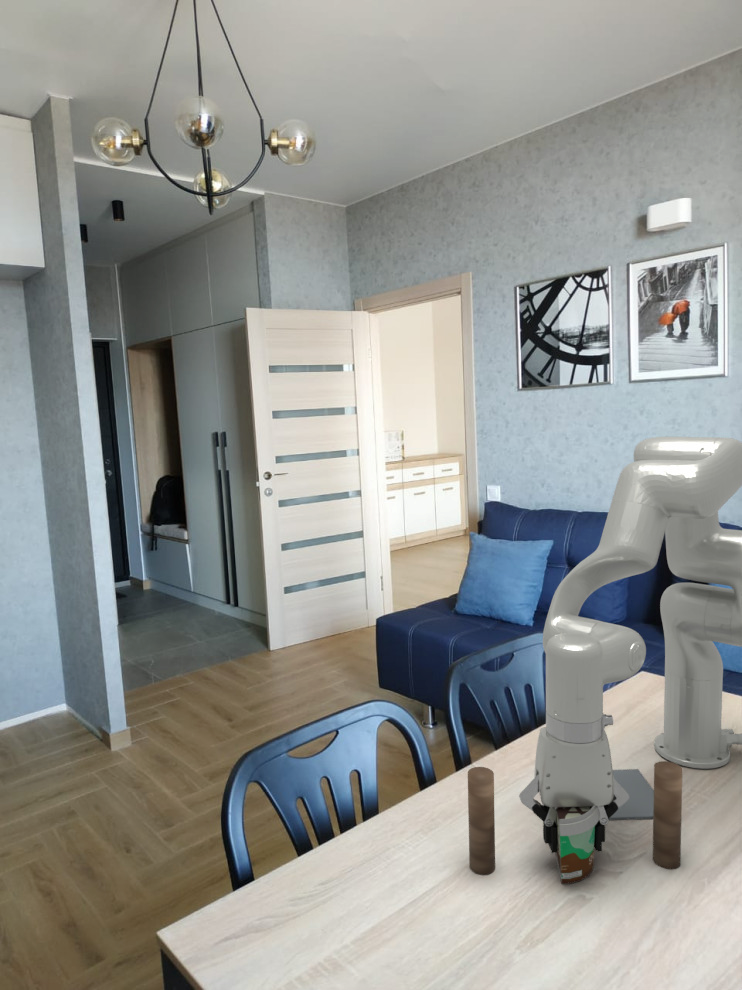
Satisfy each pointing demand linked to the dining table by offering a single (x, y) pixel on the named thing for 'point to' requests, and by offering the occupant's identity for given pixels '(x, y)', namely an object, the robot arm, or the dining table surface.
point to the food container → (575, 842)
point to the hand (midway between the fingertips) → (573, 845)
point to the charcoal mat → (634, 796)
